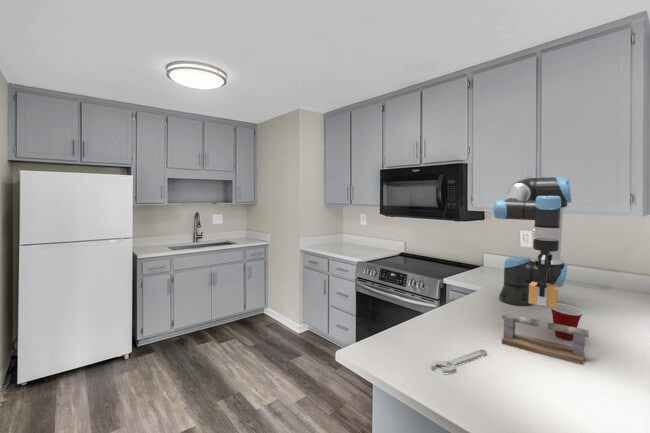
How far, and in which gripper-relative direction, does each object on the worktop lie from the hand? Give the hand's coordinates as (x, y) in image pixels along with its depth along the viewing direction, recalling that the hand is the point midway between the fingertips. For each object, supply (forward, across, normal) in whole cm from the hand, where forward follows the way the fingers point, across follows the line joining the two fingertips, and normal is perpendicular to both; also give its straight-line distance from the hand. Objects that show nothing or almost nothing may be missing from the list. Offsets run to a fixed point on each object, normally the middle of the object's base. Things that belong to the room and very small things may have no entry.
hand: (542, 302), depth 119 cm
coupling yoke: (0, 0, 0) cm, 0 cm away
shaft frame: (+17, 0, 0) cm, 17 cm away
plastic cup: (+17, -17, +6) cm, 25 cm away
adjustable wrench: (+18, +29, -18) cm, 39 cm away
